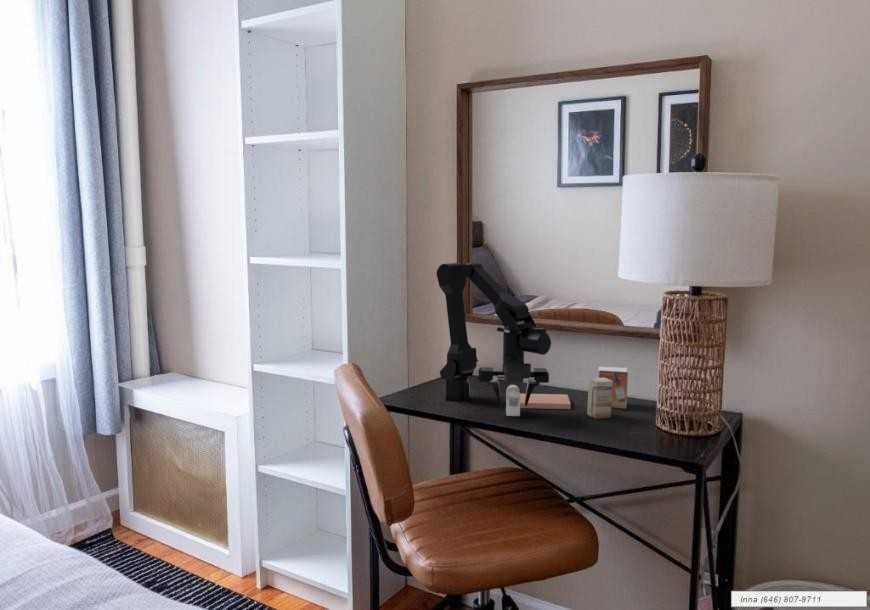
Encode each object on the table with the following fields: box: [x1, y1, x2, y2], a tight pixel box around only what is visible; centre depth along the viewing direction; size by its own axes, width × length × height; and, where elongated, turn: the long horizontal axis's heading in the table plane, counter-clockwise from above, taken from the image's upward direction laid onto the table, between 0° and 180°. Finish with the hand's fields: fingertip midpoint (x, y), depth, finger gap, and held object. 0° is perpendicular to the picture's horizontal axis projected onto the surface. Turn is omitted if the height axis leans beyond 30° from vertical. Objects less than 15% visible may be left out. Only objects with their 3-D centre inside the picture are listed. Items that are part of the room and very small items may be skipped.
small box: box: [597, 366, 629, 409], centre depth 202 cm, size 8×6×10 cm
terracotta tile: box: [520, 393, 572, 410], centre depth 204 cm, size 16×10×2 cm, turn 85°
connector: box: [505, 384, 521, 417], centre depth 194 cm, size 4×6×7 cm, turn 175°
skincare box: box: [586, 377, 613, 420], centre depth 192 cm, size 5×4×10 cm
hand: (512, 405), depth 195 cm, fingers open, 7 cm apart
